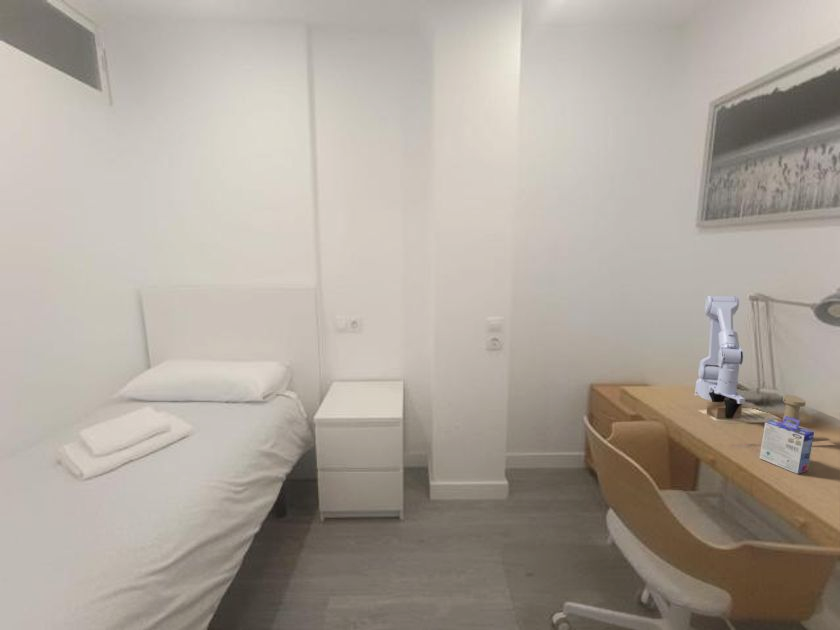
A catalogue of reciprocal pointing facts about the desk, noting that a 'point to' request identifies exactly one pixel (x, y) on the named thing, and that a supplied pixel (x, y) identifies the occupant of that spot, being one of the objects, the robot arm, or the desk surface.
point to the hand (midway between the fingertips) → (723, 414)
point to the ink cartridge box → (787, 445)
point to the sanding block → (721, 410)
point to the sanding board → (747, 417)
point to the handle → (792, 407)
